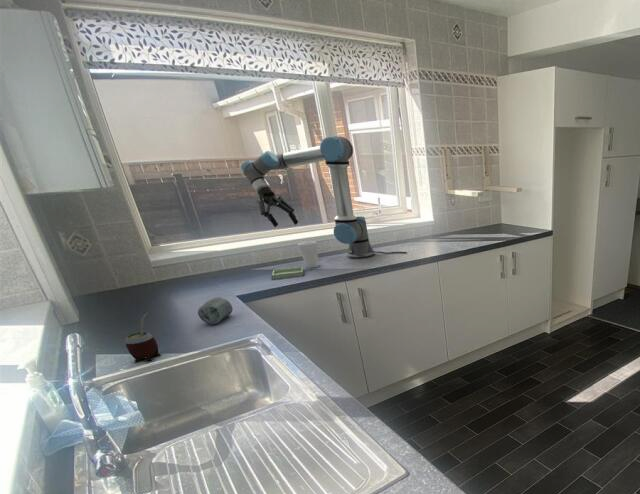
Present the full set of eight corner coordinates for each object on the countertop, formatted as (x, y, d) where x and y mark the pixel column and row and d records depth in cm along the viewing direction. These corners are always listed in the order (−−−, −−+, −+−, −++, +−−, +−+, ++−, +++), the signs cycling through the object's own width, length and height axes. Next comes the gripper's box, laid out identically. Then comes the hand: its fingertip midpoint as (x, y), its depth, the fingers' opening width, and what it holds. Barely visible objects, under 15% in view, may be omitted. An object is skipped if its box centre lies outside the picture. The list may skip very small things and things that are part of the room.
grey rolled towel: (221, 318, 153) (204, 294, 152) (200, 330, 154) (184, 307, 153) (245, 314, 167) (230, 291, 165) (226, 325, 168) (211, 303, 166)
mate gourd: (131, 359, 132) (110, 314, 125) (162, 350, 137) (143, 307, 131) (136, 366, 127) (114, 320, 121) (168, 356, 133) (148, 312, 126)
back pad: (303, 270, 228) (302, 266, 227) (303, 275, 218) (302, 271, 217) (274, 274, 222) (272, 270, 221) (272, 279, 213) (271, 275, 212)
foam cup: (303, 265, 237) (297, 242, 232) (321, 263, 241) (315, 240, 235) (303, 269, 230) (297, 245, 224) (321, 267, 233) (316, 243, 227)
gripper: (279, 193, 239) (301, 226, 242) (239, 194, 218) (263, 230, 221) (286, 185, 236) (308, 218, 239) (246, 185, 214) (271, 222, 217)
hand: (286, 224), depth 230 cm, fingers open, 13 cm apart
